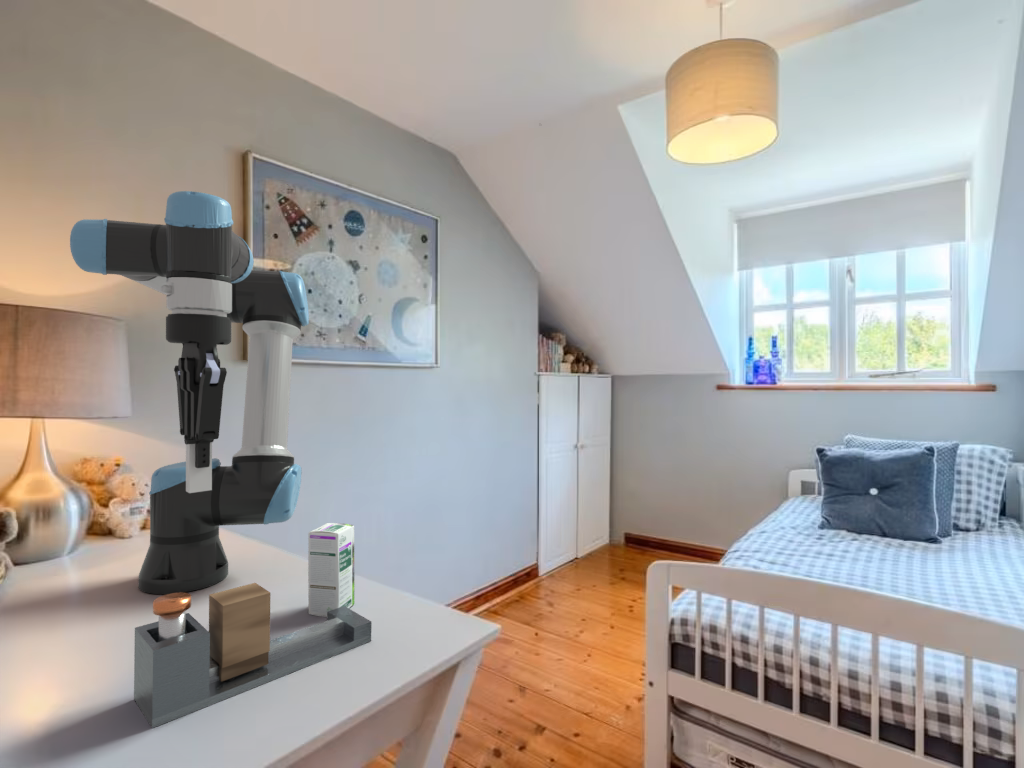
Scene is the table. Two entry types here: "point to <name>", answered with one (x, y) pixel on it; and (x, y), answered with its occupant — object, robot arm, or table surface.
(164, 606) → the plunger
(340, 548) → the syrup box
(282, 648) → the rail
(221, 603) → the block
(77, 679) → the table surface
